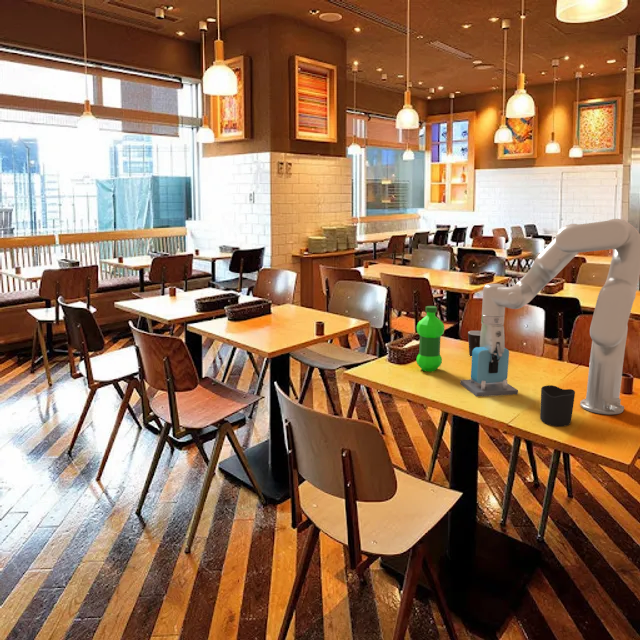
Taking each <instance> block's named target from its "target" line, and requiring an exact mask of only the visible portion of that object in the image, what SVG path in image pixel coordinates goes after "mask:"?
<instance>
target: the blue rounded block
mask: <svg viewBox="0 0 640 640" xmlns="http://www.w3.org/2000/svg"><path fill="white" fill-rule="evenodd" d="M494 353H496V351H494ZM494 356H496V355H493V358H494ZM509 359H510V351H509V349H508V348H506V347H504V353H503V354H502V357H501V358H500V360H499V363H498V373H489V362H490V353H489V351H488V349H486V348H484V347H476V348H474V349H473V351H472V357H471V365H470V366H471V369H470V379H471V378H472V380H474V381H476V382H478V383H480V384H481V381H486V383H493V382H503V380H504V379H506V380H508V373H509Z"/></svg>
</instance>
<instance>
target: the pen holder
mask: <svg viewBox="0 0 640 640" xmlns="http://www.w3.org/2000/svg"><path fill="white" fill-rule="evenodd" d="M540 389H541V390H540V409H539V410H540V411H539V413H540V416H539V418H540V421H541V422H542V423H543V424H545V425H548V426H552V427H559V428H560V427H562V428H563V427H567V426H569V425H570V424H571V423H572V417H573V410H574V402H575V397H576V391H575V389H572V388H569V389H568V388H567V389H564V388H561V387H558V386H557V385H550V384H549V385H548V384H547V385H543V386H542V387H541V388H540Z"/></svg>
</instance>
